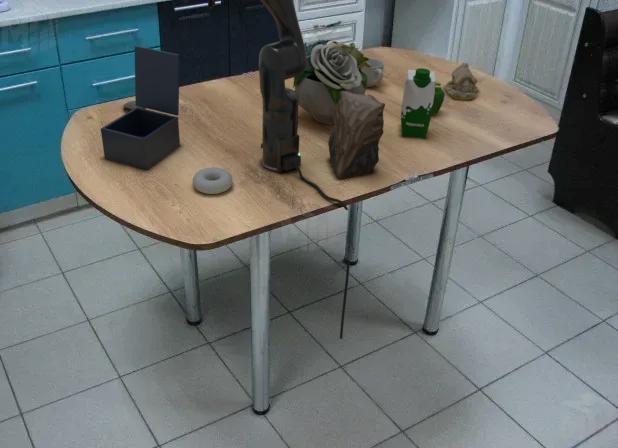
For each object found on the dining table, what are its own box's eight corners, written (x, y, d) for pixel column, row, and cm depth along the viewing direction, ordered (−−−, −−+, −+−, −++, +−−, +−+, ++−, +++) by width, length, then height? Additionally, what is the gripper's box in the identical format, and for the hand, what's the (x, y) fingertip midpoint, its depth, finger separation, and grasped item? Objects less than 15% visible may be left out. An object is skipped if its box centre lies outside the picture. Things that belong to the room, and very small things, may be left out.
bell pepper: (412, 115, 211) (416, 85, 205) (417, 105, 217) (421, 76, 212) (438, 119, 209) (443, 89, 203) (443, 109, 215) (448, 80, 210)
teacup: (346, 79, 234) (348, 56, 229) (375, 76, 237) (377, 54, 232) (360, 94, 223) (362, 71, 218) (390, 92, 226) (393, 69, 221)
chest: (147, 170, 175) (144, 139, 170) (104, 158, 179) (100, 128, 174) (180, 146, 187) (178, 117, 182) (139, 135, 191) (136, 107, 186)
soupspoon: (143, 105, 210) (122, 108, 208) (141, 95, 208) (120, 98, 206) (159, 132, 193) (136, 136, 191) (157, 121, 191) (134, 125, 189)
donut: (231, 197, 166) (234, 176, 174) (231, 185, 164) (233, 165, 172) (190, 196, 165) (195, 175, 173) (189, 184, 163) (194, 164, 171)
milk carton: (398, 137, 197) (407, 72, 186) (398, 124, 205) (406, 61, 193) (428, 140, 197) (439, 75, 185) (427, 127, 204) (437, 63, 193)
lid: (177, 55, 174) (179, 54, 175) (134, 46, 178) (136, 45, 179) (177, 115, 181) (178, 115, 182) (135, 105, 186) (137, 105, 186)
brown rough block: (326, 157, 185) (330, 88, 174) (370, 154, 187) (377, 87, 176) (335, 179, 175) (341, 108, 164) (382, 177, 177) (390, 107, 166)
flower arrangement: (324, 144, 192) (329, 61, 178) (271, 113, 207) (272, 35, 194) (385, 123, 205) (394, 44, 192) (332, 95, 221) (337, 21, 207)
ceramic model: (442, 83, 234) (447, 55, 228) (474, 85, 234) (480, 57, 228) (448, 99, 222) (452, 70, 217) (481, 101, 222) (487, 72, 217)
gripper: (165, -55, 184) (169, 5, 193) (211, -48, 179) (213, 13, 188) (180, -59, 189) (183, -1, 198) (224, -53, 185) (226, 6, 194)
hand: (198, 6), depth 193 cm, fingers open, 8 cm apart
